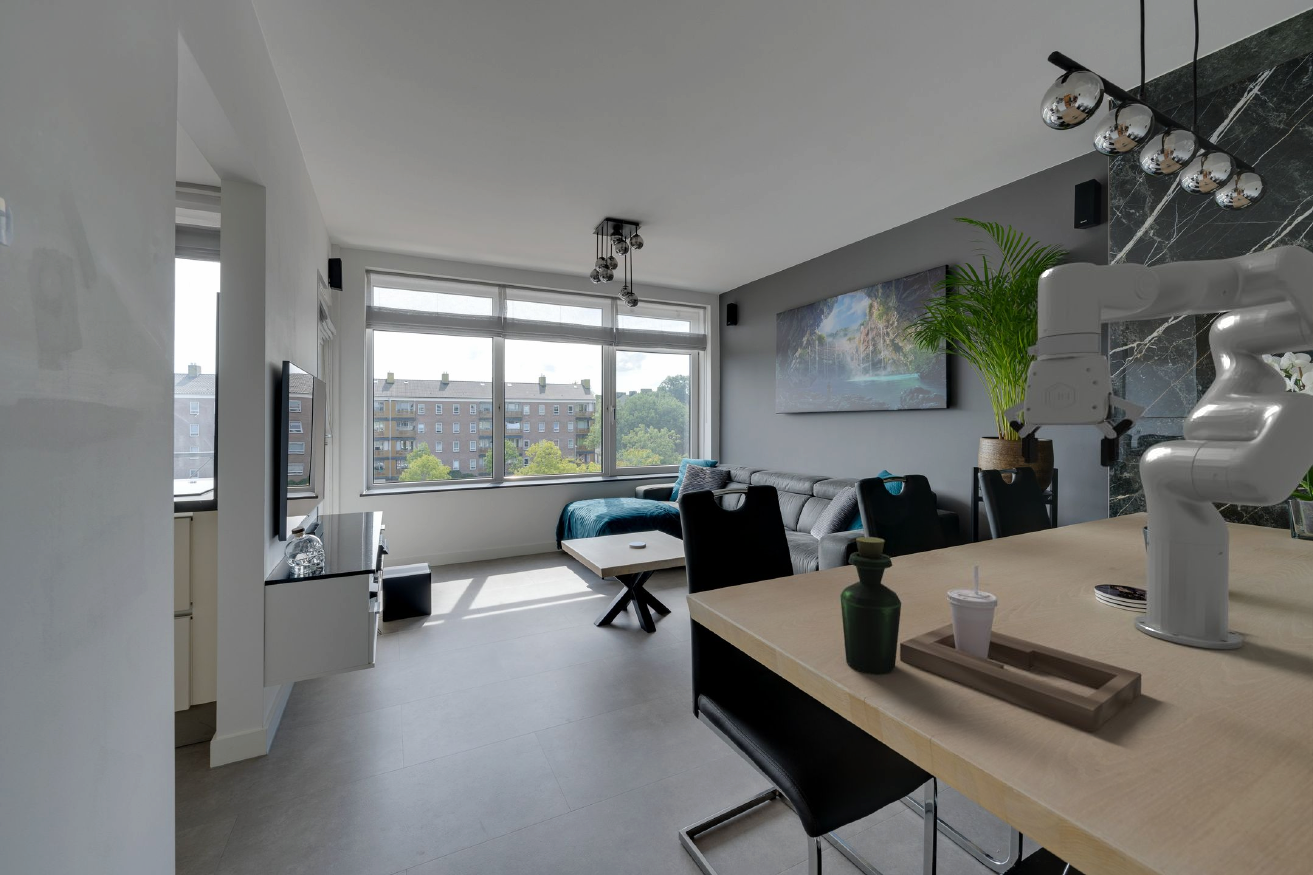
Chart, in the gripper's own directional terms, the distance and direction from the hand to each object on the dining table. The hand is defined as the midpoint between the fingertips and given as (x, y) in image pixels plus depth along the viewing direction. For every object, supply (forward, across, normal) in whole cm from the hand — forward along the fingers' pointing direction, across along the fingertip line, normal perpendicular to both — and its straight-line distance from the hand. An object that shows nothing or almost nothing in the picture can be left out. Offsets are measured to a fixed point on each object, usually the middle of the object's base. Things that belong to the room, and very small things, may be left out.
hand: (1067, 464), depth 81 cm
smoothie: (+28, -6, -15) cm, 33 cm away
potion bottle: (+28, -14, -28) cm, 42 cm away
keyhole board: (+28, -1, -15) cm, 32 cm away
